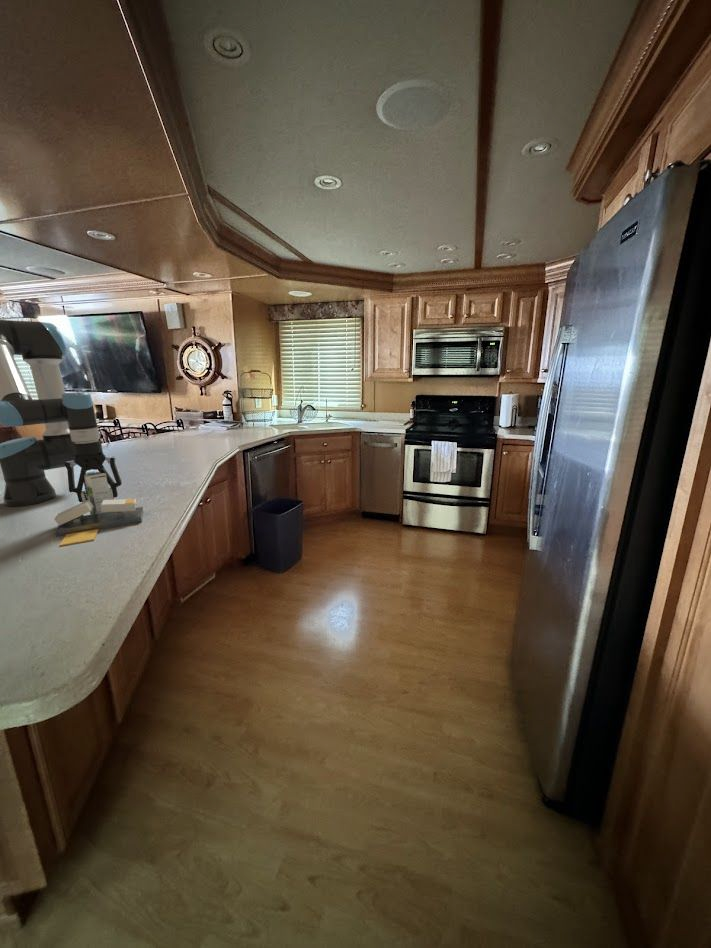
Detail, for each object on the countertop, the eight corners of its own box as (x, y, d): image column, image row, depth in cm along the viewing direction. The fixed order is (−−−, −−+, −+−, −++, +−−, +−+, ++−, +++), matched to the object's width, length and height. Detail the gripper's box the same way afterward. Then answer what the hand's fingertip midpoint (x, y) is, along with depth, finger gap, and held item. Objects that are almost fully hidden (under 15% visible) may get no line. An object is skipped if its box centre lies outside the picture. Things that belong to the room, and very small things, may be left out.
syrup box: (89, 514, 127) (80, 473, 123) (109, 509, 131) (101, 469, 127) (94, 518, 123) (84, 476, 119) (114, 513, 127) (106, 472, 123)
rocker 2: (103, 507, 120) (103, 499, 119) (136, 506, 124) (136, 498, 124) (101, 512, 116) (101, 503, 115) (135, 510, 120) (135, 503, 119)
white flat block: (63, 519, 116) (58, 513, 115) (93, 505, 119) (89, 499, 118) (59, 525, 112) (54, 519, 111) (90, 510, 114) (86, 504, 113)
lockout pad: (66, 535, 110) (66, 534, 110) (98, 530, 114) (98, 528, 114) (59, 546, 104) (59, 545, 103) (94, 540, 107) (94, 538, 107)
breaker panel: (64, 524, 119) (62, 514, 118) (143, 512, 128) (141, 502, 127) (56, 536, 110) (53, 525, 109) (141, 522, 119) (139, 512, 118)
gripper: (44, 446, 113) (62, 517, 119) (121, 440, 121) (134, 506, 127) (51, 442, 119) (67, 510, 125) (123, 436, 128) (135, 500, 134)
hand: (101, 508), depth 126 cm, fingers closed on syrup box, 7 cm apart
